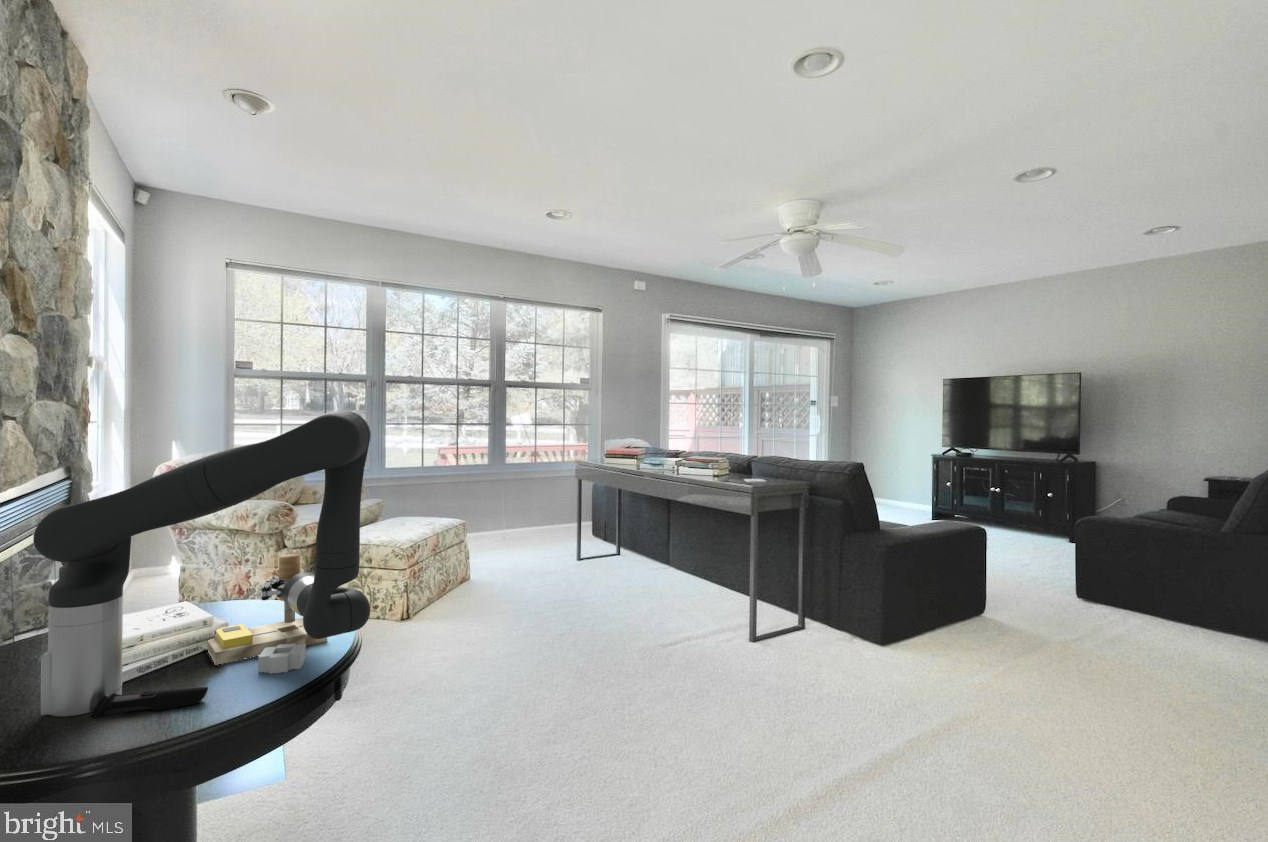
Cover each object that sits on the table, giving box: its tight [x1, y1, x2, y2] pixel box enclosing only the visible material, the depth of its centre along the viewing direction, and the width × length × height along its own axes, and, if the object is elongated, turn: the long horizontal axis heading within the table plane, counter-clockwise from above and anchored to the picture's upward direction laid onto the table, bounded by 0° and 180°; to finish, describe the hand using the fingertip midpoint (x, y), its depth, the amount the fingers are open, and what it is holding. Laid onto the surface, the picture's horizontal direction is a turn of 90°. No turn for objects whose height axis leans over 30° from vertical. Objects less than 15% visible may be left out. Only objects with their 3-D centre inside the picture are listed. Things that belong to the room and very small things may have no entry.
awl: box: [278, 553, 301, 623], centre depth 134 cm, size 4×4×14 cm
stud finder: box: [215, 623, 253, 649], centre depth 127 cm, size 5×9×2 cm, turn 43°
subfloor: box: [207, 617, 328, 666], centre depth 131 cm, size 20×12×3 cm, turn 133°
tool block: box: [257, 643, 307, 675], centre depth 120 cm, size 7×7×3 cm
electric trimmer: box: [90, 686, 209, 719], centre depth 102 cm, size 4×16×3 cm, turn 106°
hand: (286, 579), depth 136 cm, fingers closed on awl, 4 cm apart
